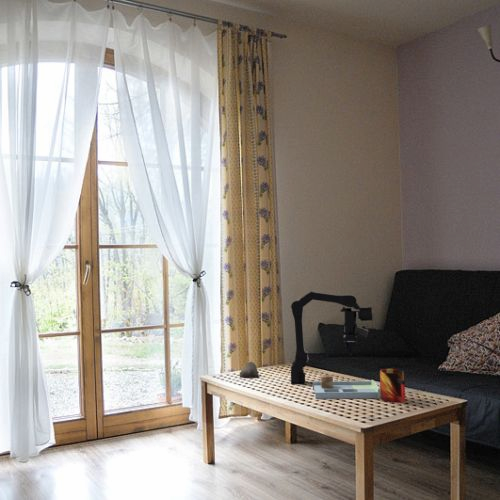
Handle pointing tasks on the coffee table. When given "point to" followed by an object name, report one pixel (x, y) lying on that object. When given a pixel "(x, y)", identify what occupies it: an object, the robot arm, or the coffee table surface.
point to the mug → (392, 385)
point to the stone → (249, 370)
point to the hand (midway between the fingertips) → (350, 353)
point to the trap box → (347, 390)
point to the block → (326, 381)
